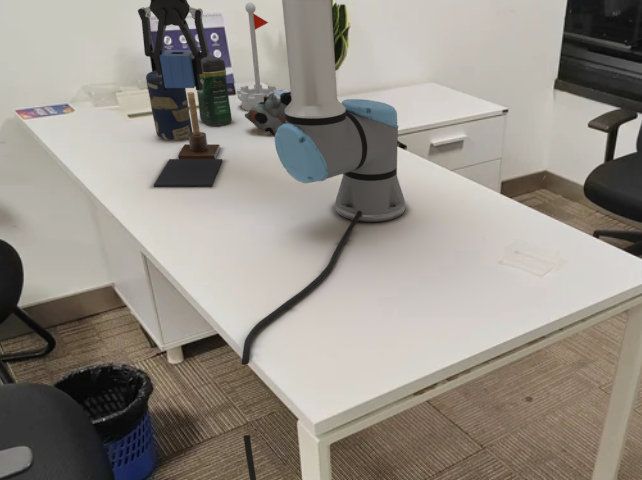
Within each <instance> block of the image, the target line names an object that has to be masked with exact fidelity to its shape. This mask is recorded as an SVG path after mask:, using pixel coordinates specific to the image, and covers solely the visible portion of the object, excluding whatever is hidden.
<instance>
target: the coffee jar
mask: <svg viewBox="0 0 642 480" xmlns="http://www.w3.org/2000/svg"><path fill="white" fill-rule="evenodd" d="M202 64H203V74H199V75H200V82H201V89H200V90H196V93H197V102H198V103H197V104H198V112H199V119H200V120H201V122H202V123H205V124H207V125H209V126H225V125H227V124H230V123H231V122H232V121H233V118H232V110H231V104H230V97H229V90H228V83H227V69H226V62H225V60H224V59H222V58H220V57H218V56H217V57H216V56H214V55H211V54H209V55H208V56H207V57H205V58H202Z"/></svg>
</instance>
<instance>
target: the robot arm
mask: <svg viewBox="0 0 642 480" xmlns="http://www.w3.org/2000/svg"><path fill="white" fill-rule="evenodd" d="M281 3H282V4H281V5H282V15H283V23H284V24H283V25H284V32H285V33H284V35H285V36H284V37H285V45H286V56H287V64H288V76H289V86H290V88H289V89H290V91H291V99H292V100H291V102H290V104H289V105H288V106H287V107H286V108H285V120H286V124H283V125H282V126H280V127H279V128H278V129H277V132H276V134H275V135H274V147H275V151H276V154H277V156H278V159H279V161H280V163H281V165H282V166H283V168H284V169H285V171H286V172H287V173H288V174H289V175H290V176H291V177H292V178H293V179H294V180H296V181H297V182H300V183H302V184H310V183H311V184H312V183H315V182H324V181H326V180H327V179H328V180H329V179H331V178H334V177H338V176H340V175H342V176H341V181H340V184H339V187H338V191H337V195H336V198H335V211H336V213H337V214H338V215H339V216H341V217H342V218H345V219H347V220H350V221H351V222H350V224H349V225H348V227H347V229H346V231H344V234H343V236H342V237H341V239H340V241H339V242H338V244H337V246H336V248H335V249H334V251H333V253H332V256H331V258H330V259H329V261H328V264H326V265H327V266H326V267H325V268H324V269H323V271H321V273H320V274H319V275H318V276H317V277H315V279H313V280H312V281H311V282H310V283H309V284H307V285H306V286H305V287H304V288H303V289H302V290H300V291H299V292H297V293H296V294H295V295H293V296H291V298H290V299H288V300H287V301H285V302H284V303H282V304H281V305H280V306H278V307H277V308H276V309H274V311H272V312H270V313H269V314H267V315H266V316H265V317H264V318H262V319H261V320H260V321H258V322H257V323H256V325H254V326H253V327H252V329H251V330H250V331H249V333H248V334H247V336H246V338H245V339H244V343H243V350H242V357H241V365H243V366H245V365H246V366H247V365H248V364H249V362H250V354H251V348H252V347H251V346H252V342H253V340H254V338H255V337H256V335H257V334H258V333H259V332H260V331H261V330H262V329H263V328H264V327H265V326H266V325H268V324H269V323H270V322H271V321H273V320H275V319H276V318H278V317H279V316H280V315H281V314H282V313H283V312H285V311H286V310H287V309H289V308H290V307H291V306H292V305H294V304H295V303H297V302H298V301H300V300H301V299H302V298H304V297H305V296H306V295H307V294H309V293H310V292H311V291H312V290H313V289H314V288H316V287H317V286H318V285H319V284H320V283H321V282H322V281H323V280H324V279H325V278H326V277H327V275H329V273H330V272H331V270H332V269H333V267H334V266H335V263H336V261H337V259H338V257H339V255H340V253H341V251H342V249H343V247H344V245H345V243H346V242H347V240H348V238H349V237H350V235H351V233H352V232H353V229H354V227H355V226H356V224H357V223H358V222H362V223H381V222H387V221H391V220H394V219H397V218H398V217H400V216H402V215H403V214H404V212H405V211H406V210H405V209H406V205H405V204H406V200H405V197H404V194H403V191H402V187H401V184H400V181H399V178H398V140H399V139H398V138H399V137H398V136H399V125H398V113H397V112H398V111H397V110H396V109H395V107H394V106H392V105H391V104H388V103H386V102H382V101H377V100H372V99H364V98H363V99H361V98H349V99H348V98H347V99H344V100H342V101H341V102H340V101H339V99H338V91H337V90H338V89H337V77H336V76H337V74H336V73H337V72H336V57H335V56H336V55H335V43H334V41H335V40H334V24H333V9H332V0H281ZM137 13H138V16H139V18H140V21H141V28H142V41H143V50H144V55H145V56H146V57H149V58H151V59H153V60H154V65H155V71H157V73H158V74H162V80H163V86H164V90H168V89H169V88H165V84H164V79H163V73H162V67H161V61H160V55H161V54H162V53H163V47H164V43H165V42H164V41H165V36H166V29H167V27H169V26H175V27H176V26H177V27H178V28H179V30H180V31H181V33H182V35H183V37H184V39H185V41H186V44H187V46H188V47H189V50H191V52H192V54H193V56H194V59H193V60H192V66H193V73H194V80H195V87H194V88H195V91H197V90H200V89H201V82H200V75H199V74H203V64H202V58H205V57H207V56H208V55H210V50H209V46H208V41H207V36H206V31H205V28H204V25H203V24H204V23H203V13H204V11H203V9H202V8H195V7H192V6H191V5H190V4H189V3H188V0H150V3H149V6H145V7H143V6H142V7H140V8H138V9H137ZM152 14H153V15H154V16H155V17H156V19H157V20H158V21H157V31H156V38H155V44H154V50H153V39H152V27H151V16H152ZM189 14H190V15H191V18H192V19H193V20H194V27H195V30H196V35H197V39H198V43H199V46H198V44H197V42H196V39H195V38H194V35H193V34H192V31H191V30H190V28H189V24H188V21H187V17H188V15H189ZM199 47H200V49H199ZM243 444H244V450H245V457H246V458H245V459H246V464H247V471H248V474H249V480H257V475H256V468H255V462H254V455H253V448H252V441H251V435H250V434H247V435H245V434H244V435H243Z"/></svg>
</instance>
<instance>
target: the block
mask: <svg viewBox="0 0 642 480" xmlns="http://www.w3.org/2000/svg"><path fill="white" fill-rule="evenodd" d="M193 59H194V56H193V54H192V52H191V50H190V49H189V50H187V49H186V50H185V49H184V50H183V49H175V50H174V49H165V50H164V51H162V54H161V55H160V61H161V67H162V73H163V79H164V84H165V88H185V89H195V88H196V87H195V80H194V73H193V66H192V60H193Z"/></svg>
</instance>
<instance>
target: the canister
mask: <svg viewBox="0 0 642 480" xmlns="http://www.w3.org/2000/svg"><path fill="white" fill-rule="evenodd" d="M145 80H146V86H147V91H148V97H149V102H150V108H151V114H152V118H153V122H154V128H155V134H156V135H157V137H158V138H159V139H163V140H166V141H179V140H184V139H187V138H188V134H189V133H192V132H193V127H192V120H191V114H190V107H189V101H188V94H187V90H186V89H187V88H169V89H168V90H164V86H163V80H162V74H158V73H157V71H156V70H152V71H149V72H148V73H147V74H146V75H145Z"/></svg>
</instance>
